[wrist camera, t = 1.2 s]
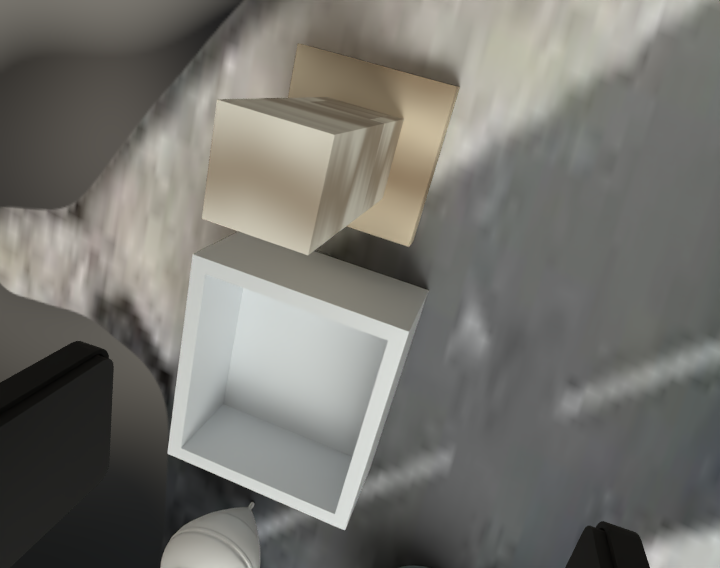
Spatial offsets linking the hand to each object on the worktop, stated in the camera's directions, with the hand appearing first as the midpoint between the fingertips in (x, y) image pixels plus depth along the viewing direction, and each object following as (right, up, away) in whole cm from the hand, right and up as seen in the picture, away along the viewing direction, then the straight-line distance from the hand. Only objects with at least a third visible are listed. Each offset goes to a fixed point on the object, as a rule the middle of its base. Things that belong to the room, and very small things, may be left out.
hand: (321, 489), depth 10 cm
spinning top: (-9, -16, +38) cm, 42 cm away
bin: (-3, -1, +31) cm, 31 cm away
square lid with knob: (+1, +13, +25) cm, 28 cm away
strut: (0, +12, +23) cm, 26 cm away
